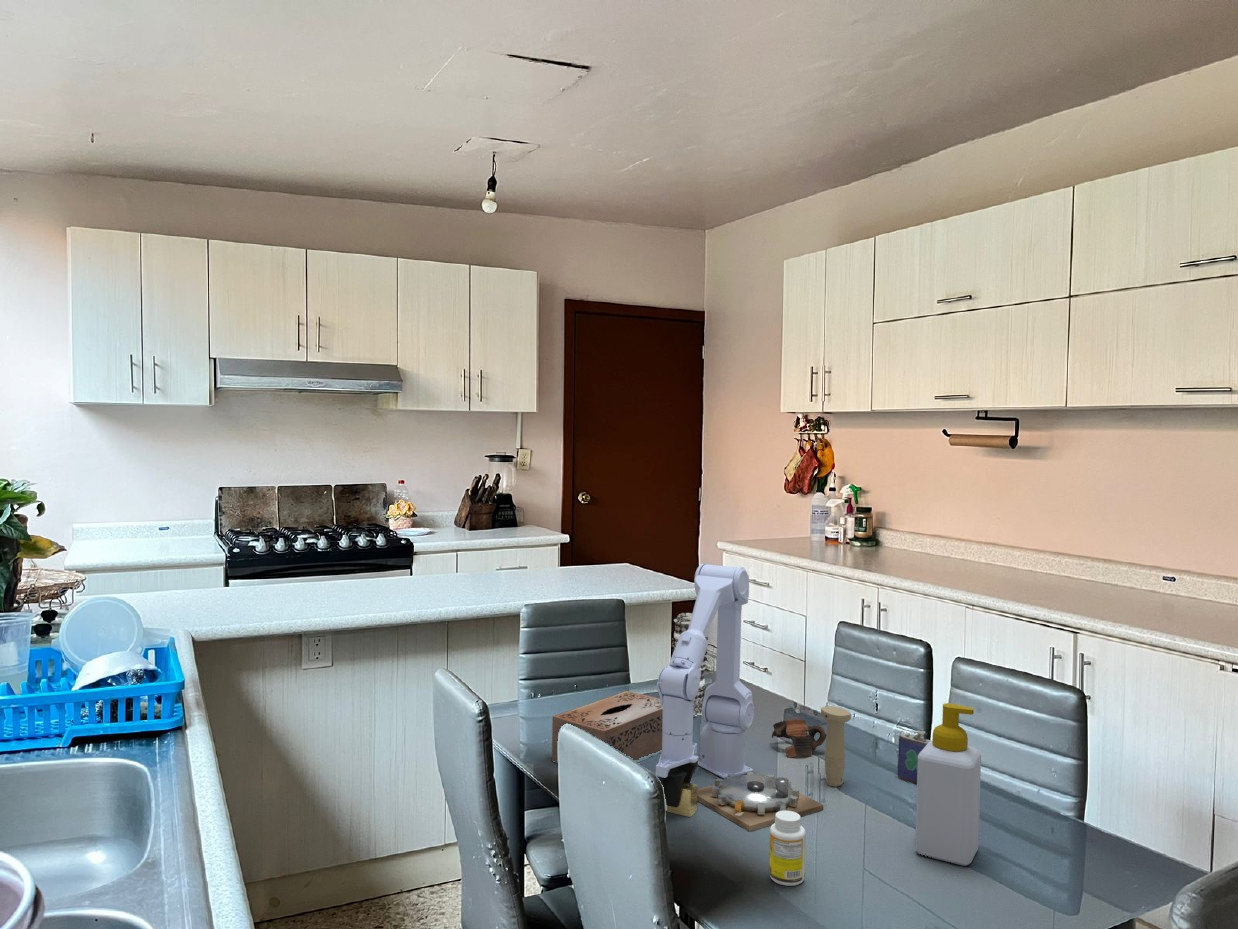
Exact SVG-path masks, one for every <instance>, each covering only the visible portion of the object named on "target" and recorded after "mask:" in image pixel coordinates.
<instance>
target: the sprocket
mask: <svg viewBox="0 0 1238 929" xmlns="http://www.w3.org/2000/svg"><path fill="white" fill-rule="evenodd" d="M754 773H755V772H754V771H753V772H747V773H746V774H741V775H737V776H736V775H735V774H733V773H732V774H728V778H719V777H717V778H716V779H715V780H714V785H715V786H712V796H714V797H718V803H719V804H720V805H726V804H728V805H730V806H733V807H735V811H738V812H742V811H743V810H748V811H757V813H758V814H760V815H764V814H765V812H767V811H778V812H779V811H786V807H788V806H793V807H796V806H797V805H798V798H799V793H800V789H799V788H796V787H795V788H794V787H792V781H790V780H789V779H788V778H786V777H776V778H775V774H770V773H768V774H767V775H764V776H762V775H763V774H762V775H755V774H754Z"/></svg>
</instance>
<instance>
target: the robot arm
mask: <svg viewBox="0 0 1238 929" xmlns="http://www.w3.org/2000/svg"><path fill="white" fill-rule="evenodd" d="M694 591H695V595H696V599H695V603H694V606H693V610H692V612H691V613H692V617H691V621H690V624H689V628H688V630H687V631H685V632H683V633H681V634H680V636H679V639H678V642H677V644H676V647H675V650H674V652H673V653H672V655H671V658H670V661H669V663H668V665H666V666H665V667H662V669H661V670H660V671H659V674H658V678H657V683H656V688H657V693H658V694H659V699H660V704H661V705H662V706H663V719H662V752H661V753H660V755H659V759H658V763H657V764H656V765H655V776H656V777H657V778H658V779H659V780H660V781H661V784H662V785H663V787H664V794H665V799H666V804H667V806H671V807H675V808H677V807H678V805H679V801H680V794H681V788H682V784H683V782H687V783H691V781H692V778H693V775H694V773H695V771H696V769H697V767H698V766H700V767H701V768H703V769H704V770H707V771H708V772H710V773H713V774H714V775H716V776H719V777H720V778H721V779H726V778H728V774H732V773H733V774H735V775H736V776H737V775H746V774H747V772H753V773H754V769H753V768H751V767H749V766H747V765H745V748H746V744H745V738H746V733H745V732H746V730H748V729H749V728H750V727H751V726H752V724H753V721H754V717H755V706H754V703H753V702H754V701H753V692H752V691H751V689H750V688H748V687H747V686H746V685H744V683H742V682H741V680H740V679H741V678H740V677H741V676H740V675H741V640H742V639H741V637H742V635H741V634H742V610H743V609H742V607H743V606H744V605H746V604H748V603H749V597H750V594H749V593H750V575H749V573H748V572H747V571H746V568H744V567H743V566H739V567H738V566H726V565H718V564H716V565H715V564H707V563H701V564H699V566H698V567H697V568H696V571H695V573H694ZM716 614H717V620H716V621H717V622H716V625H717V626H716V627H717V628H716V630H717V632H716V635H717V636H716V660H715V663H716V664H715V681H714V682H713V683H711V684H709V685H708V686H706V689H705V690H704V691H705V695H704V701H703V704H702V718H703V721H704V722H705V723H706V724H704V725H703V727H702V729H701V732H700V742H699V744H700V745H699V747H700V748H699V750H700V751H699V756H698V755H696V754H697V753H698V743H697V742H694V740H693V738H694V737H693V736H694V718H693V699H694V698H695V697H696V695H697V693H698V690H699V685H700V676H701V671H700V667H701V664H702V661H703V658H704V657H705V656H706V655H705V653H706V651H707V650H708V646H709V642H708V640H706V638H705V637H707V636H706V635H707V633H708V631H709V629H710V627H711V625H712V623H713V621H714V618H715V617H716ZM704 655H705V656H704ZM659 780H658V781H659Z"/></svg>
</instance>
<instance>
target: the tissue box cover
mask: <svg viewBox="0 0 1238 929" xmlns="http://www.w3.org/2000/svg"><path fill="white" fill-rule="evenodd" d="M662 719H663V706H662V705H661V704H660V697H659V698H658V697H655V696H651V695H646V694H642V693H638V692H635V691H631V690H625V691H622V692H620V693H617V694H614V695H611V696H608V697H605V698H602V699H600V700H596V701H594V702H590V703H588V704H584V705H582V706H579V707H576V708H572V709H570V710H567V711H564V712H562V713H558V714H556V715H553V716H552V726H551V727H552V731H551V732H552V733H551V735H552V736H551V761H555V762H554V763H556V764H558V763H557V741H558V732H559V729H560V728H561V726H563V725H564V724H566V723H568V724H571V725H573V726H576V727H578V728H580V729H583V730H585V731H586V732H589V733H590V734H592V735H593V736H596V737H597V738H599V739H601V740H602V741H604V742H605V743H608V744H609V745H610V746H613V747H614V748H615V749H618V750H619V751H621V752H622V753H624V754H626V756H630V757H631V758H633V760H639V758H641V757H644V756H648V755H649V754H652V753H656V752H658V751H660V750H662Z"/></svg>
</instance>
